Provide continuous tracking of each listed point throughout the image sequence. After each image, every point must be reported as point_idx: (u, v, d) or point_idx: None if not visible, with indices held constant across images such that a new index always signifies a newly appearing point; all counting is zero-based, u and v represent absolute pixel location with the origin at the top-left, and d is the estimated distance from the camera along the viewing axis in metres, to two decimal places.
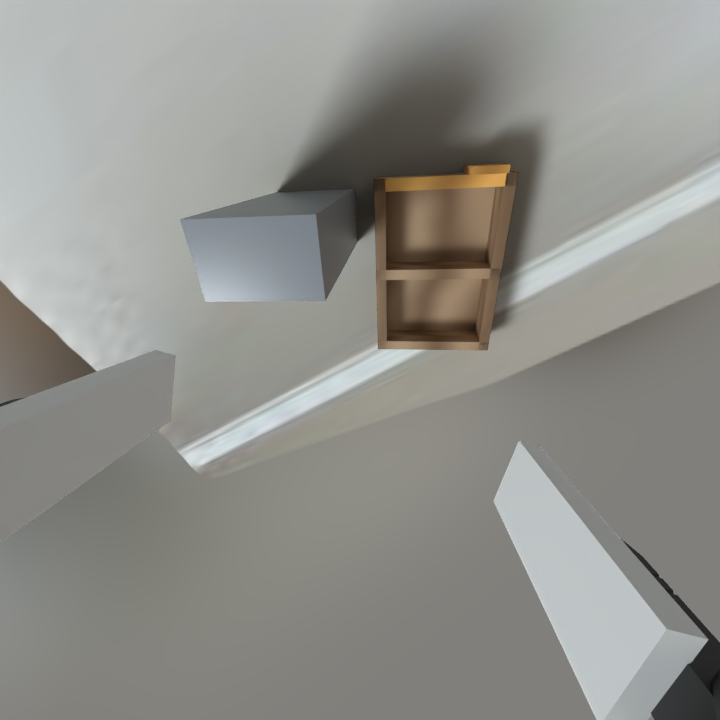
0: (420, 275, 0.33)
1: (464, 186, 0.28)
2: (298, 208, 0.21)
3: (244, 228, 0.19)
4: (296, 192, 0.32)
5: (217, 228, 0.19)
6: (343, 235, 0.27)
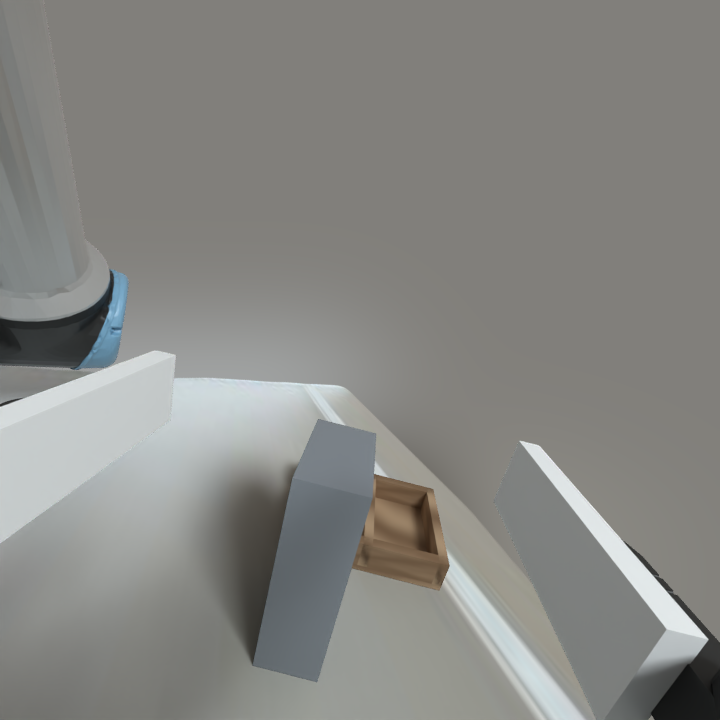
0: (370, 514, 0.38)
1: None
2: None
3: (314, 447, 0.24)
4: None
5: (309, 460, 0.22)
6: None
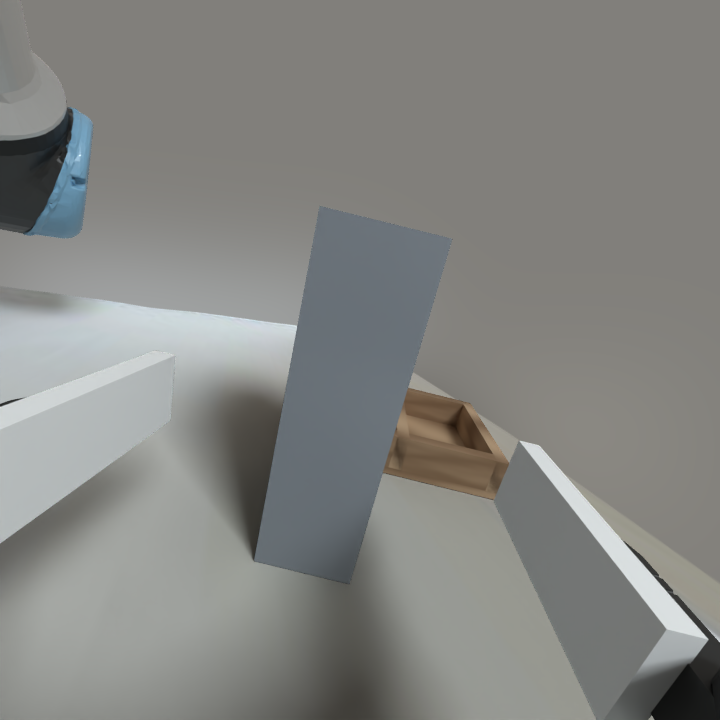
0: (401, 414, 0.30)
1: None
2: None
3: None
4: None
5: None
6: None
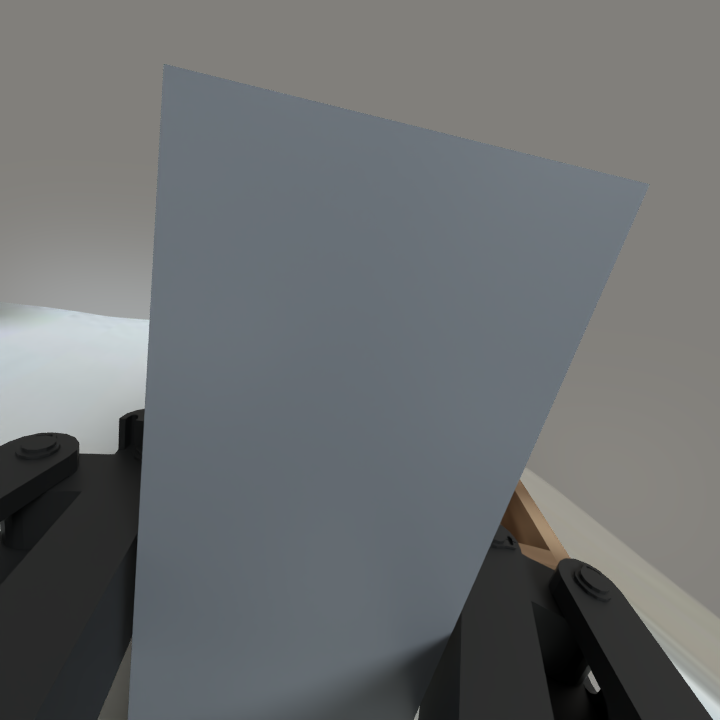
0: None
1: None
2: None
3: None
4: None
5: None
6: None
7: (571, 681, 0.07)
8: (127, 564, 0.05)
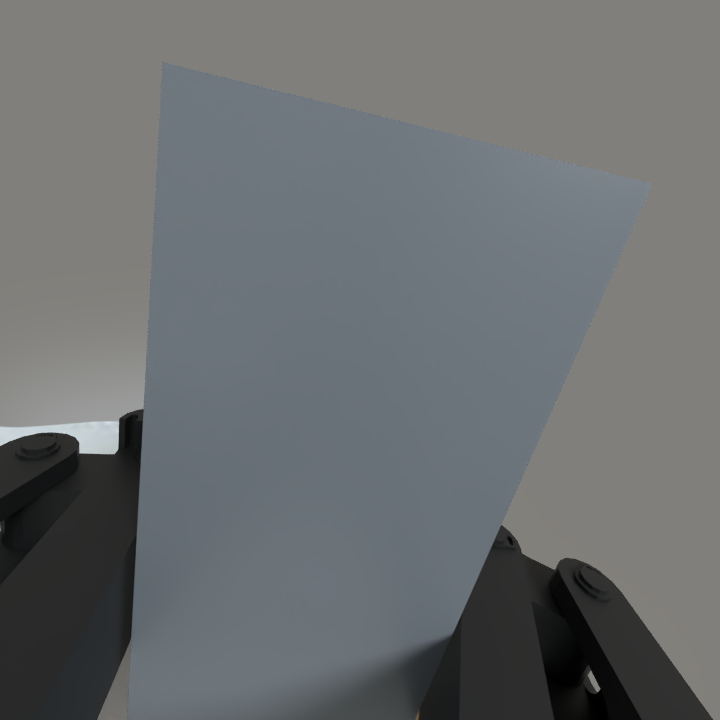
0: None
1: None
2: None
3: None
4: None
5: None
6: None
7: (571, 682, 0.07)
8: (127, 564, 0.05)
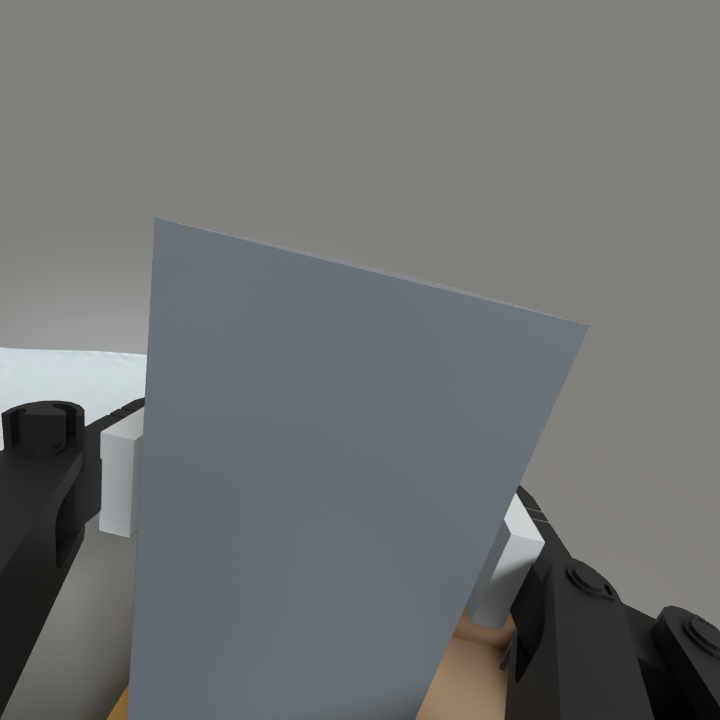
0: None
1: None
2: None
3: (294, 248, 0.07)
4: None
5: (268, 243, 0.06)
6: None
7: None
8: (19, 564, 0.05)
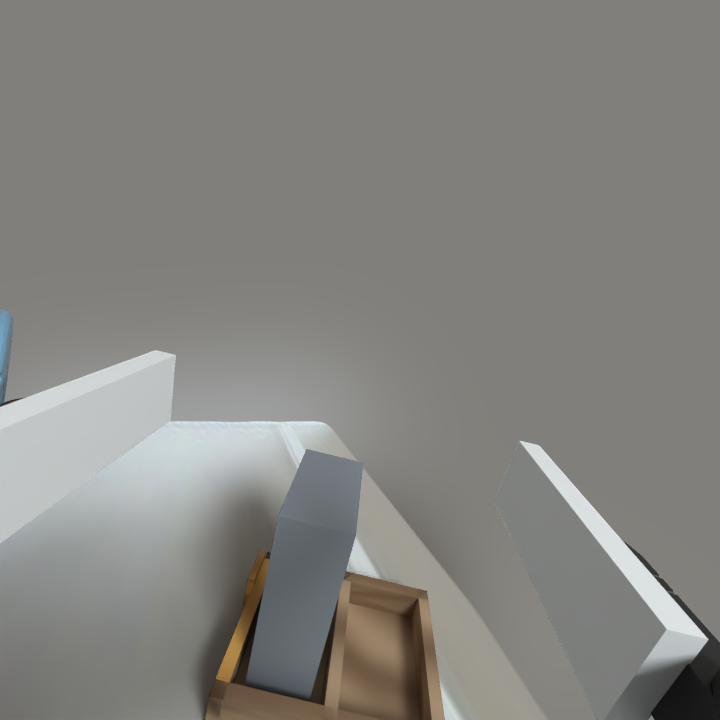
0: (338, 654, 0.27)
1: (261, 590, 0.30)
2: None
3: (301, 481, 0.24)
4: None
5: (295, 495, 0.23)
6: None
7: None
8: None
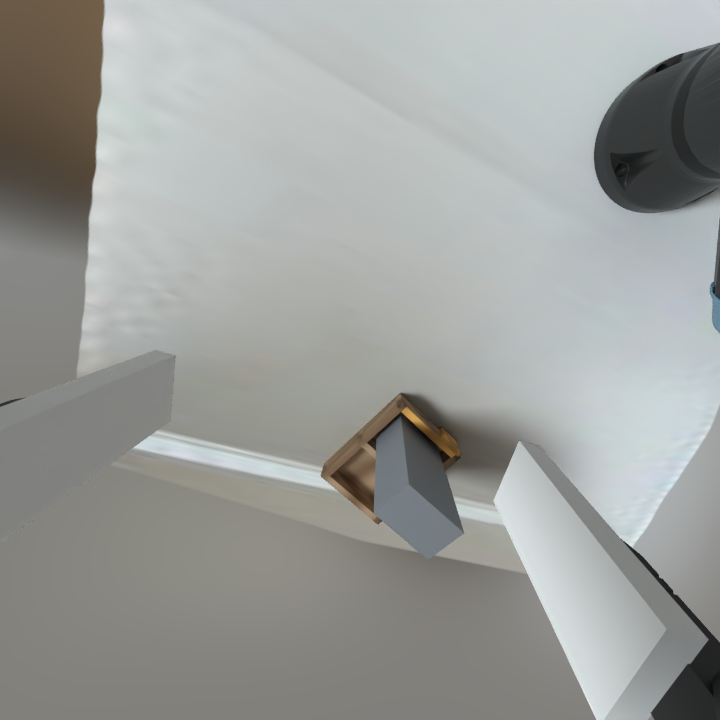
0: None
1: (436, 442, 0.46)
2: (446, 502, 0.36)
3: (430, 511, 0.33)
4: (412, 426, 0.48)
5: (419, 501, 0.33)
6: None
7: None
8: None
